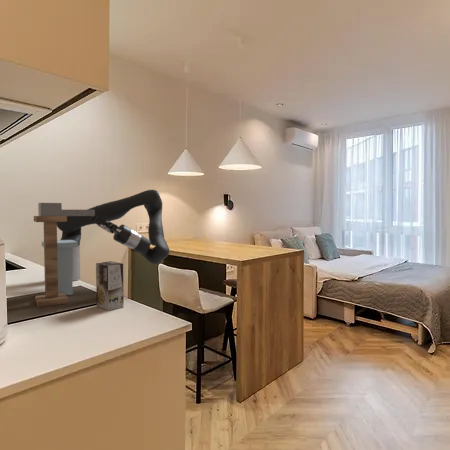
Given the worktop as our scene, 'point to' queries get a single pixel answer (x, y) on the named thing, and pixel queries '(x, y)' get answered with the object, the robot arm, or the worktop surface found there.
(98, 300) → the coffee box
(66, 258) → the slate stand
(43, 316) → the worktop surface
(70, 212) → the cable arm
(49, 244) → the wooden pedestal stand
